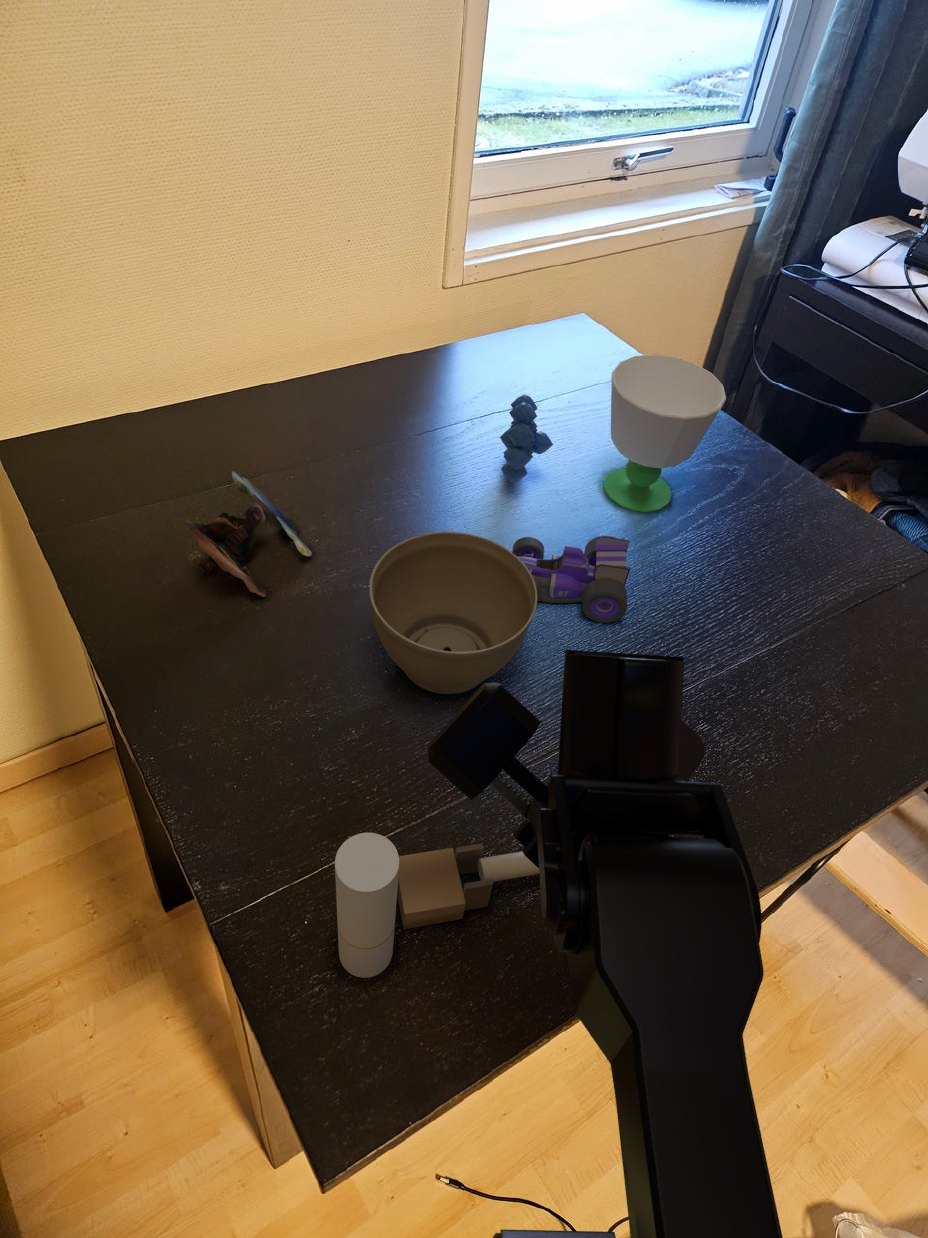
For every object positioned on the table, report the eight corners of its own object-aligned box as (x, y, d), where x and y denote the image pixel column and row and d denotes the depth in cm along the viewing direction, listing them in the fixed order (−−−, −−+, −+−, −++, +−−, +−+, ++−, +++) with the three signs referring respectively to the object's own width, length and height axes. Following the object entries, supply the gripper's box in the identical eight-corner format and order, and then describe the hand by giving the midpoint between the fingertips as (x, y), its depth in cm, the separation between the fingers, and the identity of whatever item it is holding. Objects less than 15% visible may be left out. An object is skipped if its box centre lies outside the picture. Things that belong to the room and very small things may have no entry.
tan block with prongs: (489, 914, 71) (495, 891, 68) (403, 930, 70) (405, 907, 67) (475, 859, 74) (481, 835, 71) (393, 873, 73) (394, 849, 70)
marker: (601, 868, 73) (606, 856, 71) (482, 888, 71) (484, 877, 69) (593, 845, 74) (598, 833, 73) (476, 865, 72) (479, 853, 70)
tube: (368, 989, 66) (369, 904, 55) (327, 954, 68) (321, 865, 57) (403, 946, 69) (412, 857, 58) (363, 914, 70) (364, 821, 59)
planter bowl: (339, 685, 86) (337, 611, 78) (411, 586, 97) (416, 512, 89) (485, 748, 83) (499, 677, 75) (543, 637, 93) (561, 565, 85)
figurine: (311, 556, 105) (231, 486, 102) (343, 519, 98) (258, 444, 96) (241, 633, 94) (150, 556, 92) (272, 597, 88) (175, 514, 86)
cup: (672, 458, 118) (706, 354, 106) (702, 524, 109) (743, 418, 97) (575, 458, 116) (599, 352, 104) (598, 525, 107) (627, 417, 95)
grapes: (543, 510, 108) (559, 430, 99) (490, 503, 108) (502, 422, 99) (547, 456, 116) (562, 377, 107) (497, 449, 116) (509, 370, 107)
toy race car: (496, 549, 102) (502, 507, 97) (621, 568, 102) (633, 526, 97) (488, 606, 95) (495, 564, 91) (621, 626, 95) (635, 585, 90)
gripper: (831, 852, 45) (722, 798, 60) (569, 611, 44) (527, 619, 60) (691, 1016, 44) (617, 918, 60) (423, 773, 43) (420, 738, 59)
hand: (549, 795), depth 59 cm, fingers open, 9 cm apart
